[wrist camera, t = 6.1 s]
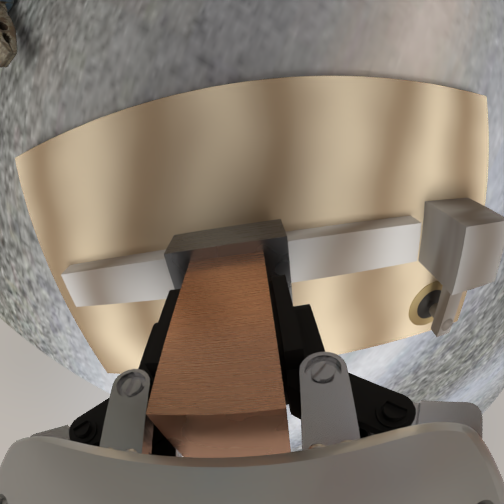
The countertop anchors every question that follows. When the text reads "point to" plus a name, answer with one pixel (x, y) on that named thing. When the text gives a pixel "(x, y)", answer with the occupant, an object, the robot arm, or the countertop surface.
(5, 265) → the countertop surface
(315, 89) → the wooden slide jig
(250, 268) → the block
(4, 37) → the pliers
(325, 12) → the countertop surface
